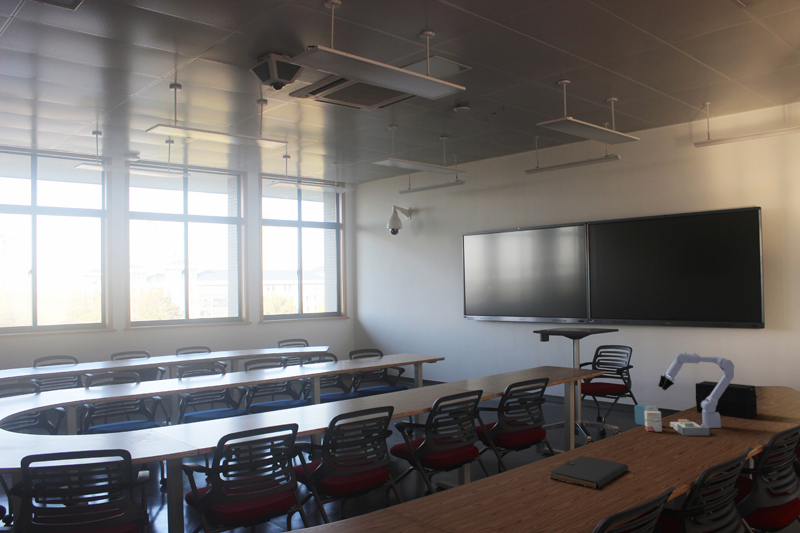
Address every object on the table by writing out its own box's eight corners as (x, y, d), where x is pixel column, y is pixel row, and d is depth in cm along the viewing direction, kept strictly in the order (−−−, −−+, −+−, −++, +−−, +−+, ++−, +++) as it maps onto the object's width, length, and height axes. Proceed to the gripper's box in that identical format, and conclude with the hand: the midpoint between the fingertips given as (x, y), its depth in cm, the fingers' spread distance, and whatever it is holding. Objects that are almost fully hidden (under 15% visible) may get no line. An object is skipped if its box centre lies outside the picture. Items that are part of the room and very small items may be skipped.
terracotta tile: (686, 422, 350) (686, 419, 350) (689, 424, 345) (689, 421, 345) (678, 422, 351) (678, 419, 351) (681, 424, 346) (681, 421, 346)
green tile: (690, 424, 344) (690, 421, 344) (693, 426, 339) (693, 423, 339) (682, 424, 344) (681, 421, 345) (685, 426, 340) (684, 423, 340)
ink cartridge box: (647, 431, 341) (646, 407, 342) (645, 429, 346) (643, 405, 347) (662, 431, 340) (660, 407, 341) (659, 429, 345) (658, 405, 346)
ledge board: (693, 425, 351) (693, 421, 351) (702, 431, 337) (702, 427, 337) (670, 425, 353) (670, 421, 353) (678, 431, 339) (678, 427, 339)
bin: (704, 431, 336) (703, 424, 336) (710, 435, 327) (709, 427, 327) (677, 431, 338) (677, 424, 338) (683, 435, 329) (682, 427, 330)
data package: (656, 425, 355) (655, 406, 356) (653, 426, 353) (652, 407, 353) (638, 422, 365) (637, 404, 365) (635, 423, 362) (634, 405, 362)
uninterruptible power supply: (707, 409, 397) (705, 380, 398) (760, 416, 371) (758, 385, 372) (696, 412, 387) (694, 383, 388) (750, 420, 361) (748, 388, 362)
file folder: (581, 454, 287) (628, 464, 270) (581, 462, 286) (628, 472, 270) (548, 470, 263) (598, 482, 246) (549, 479, 263) (598, 491, 246)
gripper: (664, 364, 362) (652, 382, 363) (671, 369, 348) (659, 387, 349) (673, 370, 361) (662, 388, 362) (681, 375, 347) (669, 393, 348)
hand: (661, 388), depth 356 cm, fingers open, 7 cm apart
